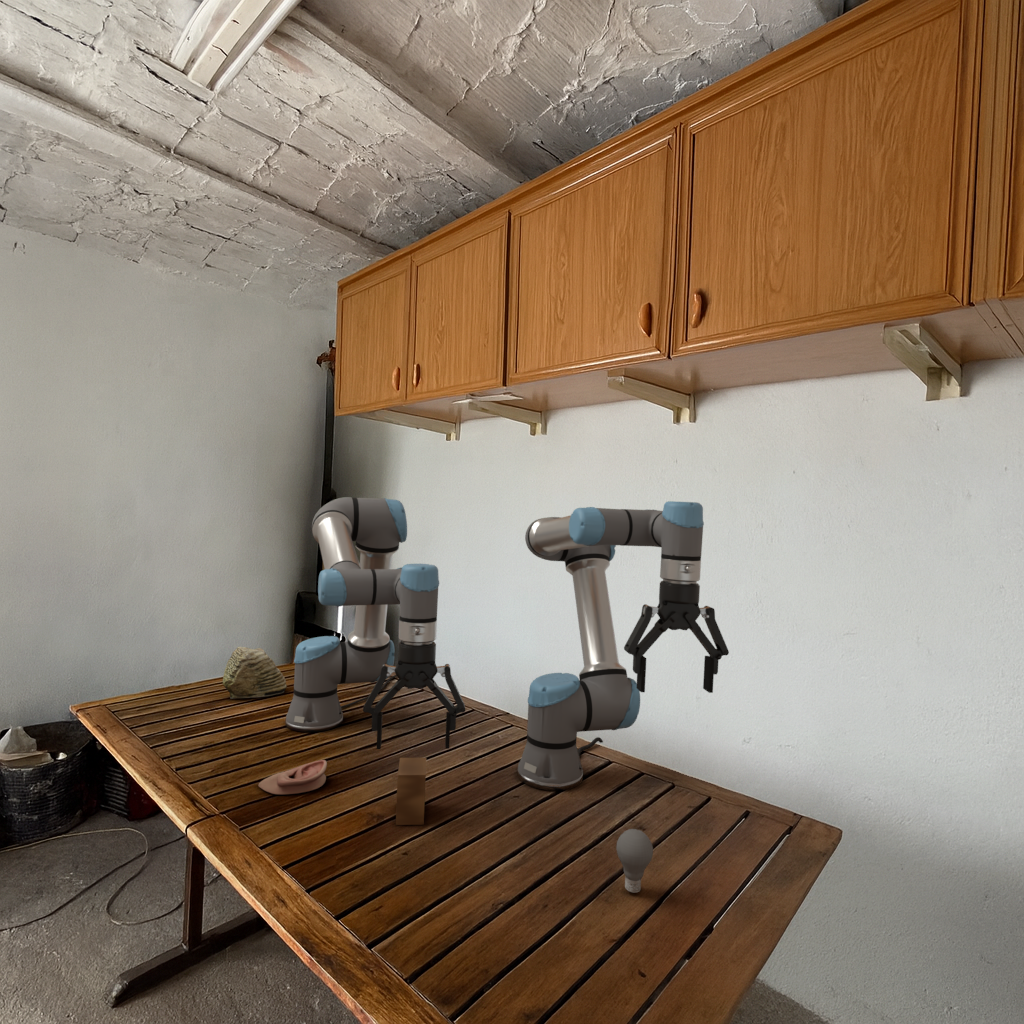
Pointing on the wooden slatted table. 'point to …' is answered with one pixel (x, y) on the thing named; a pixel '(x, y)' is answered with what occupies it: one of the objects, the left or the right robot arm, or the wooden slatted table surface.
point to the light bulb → (634, 857)
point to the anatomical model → (296, 779)
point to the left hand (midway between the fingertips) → (413, 746)
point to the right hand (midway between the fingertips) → (674, 690)
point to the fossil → (252, 674)
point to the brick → (411, 791)
